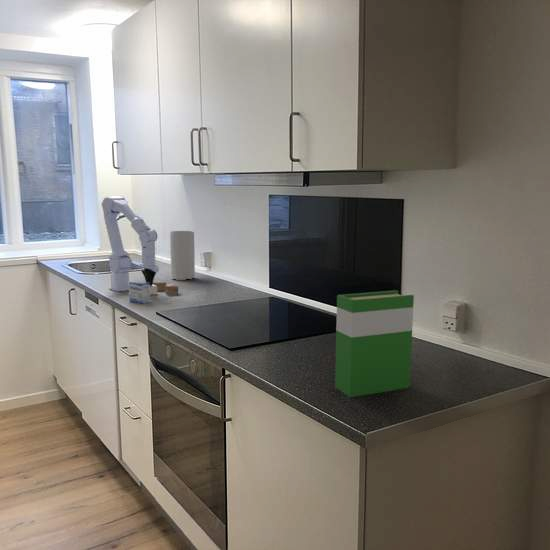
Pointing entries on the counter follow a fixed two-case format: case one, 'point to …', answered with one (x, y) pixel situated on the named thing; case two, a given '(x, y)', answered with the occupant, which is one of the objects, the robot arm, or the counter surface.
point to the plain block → (153, 289)
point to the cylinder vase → (182, 255)
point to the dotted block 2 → (171, 289)
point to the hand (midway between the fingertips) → (149, 285)
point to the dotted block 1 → (160, 285)
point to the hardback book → (373, 342)
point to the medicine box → (139, 292)
